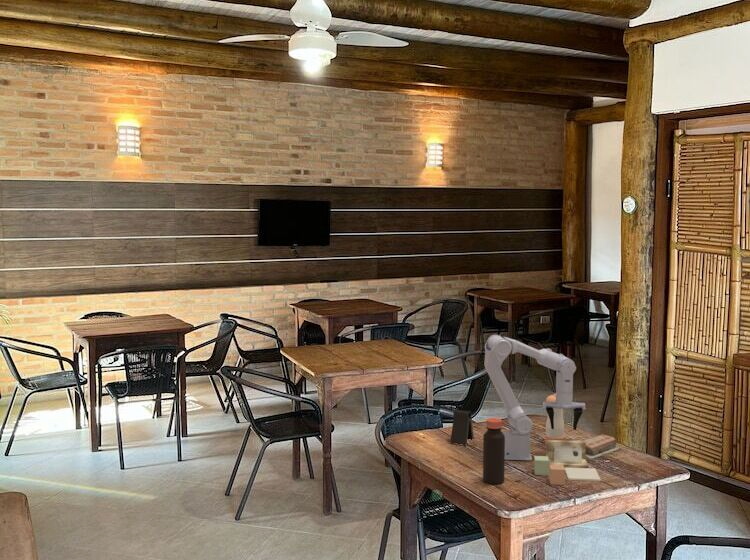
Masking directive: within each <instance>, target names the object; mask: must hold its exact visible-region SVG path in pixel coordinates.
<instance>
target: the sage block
mask: <svg viewBox="0 0 750 560" xmlns="http://www.w3.org/2000/svg"><path fill="white" fill-rule="evenodd" d="M533 473H534V475H535V476H549V459H548V456H546V455H533Z"/></svg>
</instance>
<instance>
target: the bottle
mask: <svg viewBox="0 0 750 560" xmlns="http://www.w3.org/2000/svg"><path fill="white" fill-rule="evenodd" d="M485 425H486V429H487V430H486V432H484V434H483V435H482V437H483V439H482V440H483V441H482V444H483V445H482V449H483V452H482V454H483V456H482V481H483V482H485V483H486V484H489V485H500V484H503V483H504V482H505V465H506V463H505V461H506V460H505V436H504V432H502V429H503V420H502V419H501V418H497V417H496V418H495V417H491V418H487V419H486V424H485Z"/></svg>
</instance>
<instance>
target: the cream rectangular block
mask: <svg viewBox="0 0 750 560" xmlns="http://www.w3.org/2000/svg"><path fill="white" fill-rule="evenodd" d="M553 460H554V462H558V463H581V461H582V448H581V446H580V445H571V444H553Z"/></svg>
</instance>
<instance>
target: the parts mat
mask: <svg viewBox="0 0 750 560" xmlns="http://www.w3.org/2000/svg"><path fill="white" fill-rule="evenodd" d="M564 468H565V467H564ZM565 476H566V477H567V480H568V481H580V482H583V481H584V482H601V481H602V480H601V479H602V478H601V477H600V476H599V473H598V471H597V469H596V468H593V467H592V468H590V467H588V468H565Z"/></svg>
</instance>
